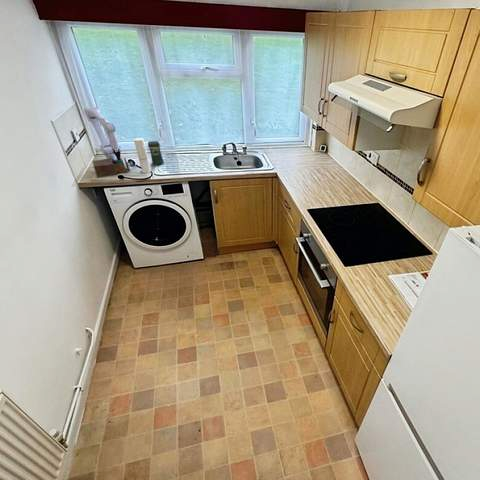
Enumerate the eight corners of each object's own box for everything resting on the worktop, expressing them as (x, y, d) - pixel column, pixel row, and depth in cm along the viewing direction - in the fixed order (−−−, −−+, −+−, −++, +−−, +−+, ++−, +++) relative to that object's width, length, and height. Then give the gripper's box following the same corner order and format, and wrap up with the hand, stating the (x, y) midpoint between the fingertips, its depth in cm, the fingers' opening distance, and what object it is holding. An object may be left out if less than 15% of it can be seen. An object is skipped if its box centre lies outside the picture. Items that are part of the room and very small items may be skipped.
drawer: (132, 165, 252) (130, 157, 248) (135, 170, 243) (132, 162, 239) (111, 168, 246) (108, 160, 241) (113, 173, 237) (110, 165, 232)
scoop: (124, 166, 246) (121, 155, 240) (125, 168, 243) (121, 156, 237) (113, 168, 243) (109, 156, 237) (113, 170, 240) (109, 158, 234)
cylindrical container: (152, 169, 248) (144, 138, 232) (149, 172, 242) (141, 140, 227) (144, 169, 248) (135, 137, 232) (140, 172, 242) (132, 140, 227)
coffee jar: (163, 161, 264) (159, 139, 252) (164, 164, 258) (159, 142, 246) (152, 162, 261) (147, 140, 250) (152, 165, 255) (147, 143, 244)
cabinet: (114, 168, 247) (111, 158, 242) (116, 174, 238) (112, 163, 232) (96, 171, 242) (92, 160, 237) (97, 177, 232) (93, 166, 227)
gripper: (119, 142, 227) (125, 160, 236) (118, 138, 237) (123, 155, 246) (109, 143, 224) (115, 162, 233) (108, 139, 234) (114, 156, 243)
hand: (118, 158), depth 239 cm, fingers open, 7 cm apart
